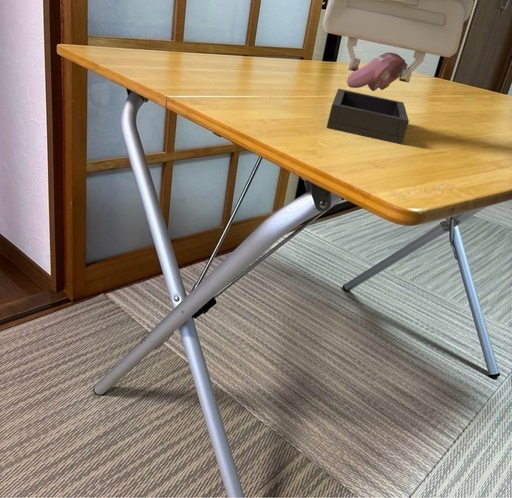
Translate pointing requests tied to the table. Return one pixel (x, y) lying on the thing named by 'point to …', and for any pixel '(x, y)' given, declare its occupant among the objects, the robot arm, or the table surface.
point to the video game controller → (378, 72)
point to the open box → (368, 116)
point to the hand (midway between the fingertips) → (377, 75)
